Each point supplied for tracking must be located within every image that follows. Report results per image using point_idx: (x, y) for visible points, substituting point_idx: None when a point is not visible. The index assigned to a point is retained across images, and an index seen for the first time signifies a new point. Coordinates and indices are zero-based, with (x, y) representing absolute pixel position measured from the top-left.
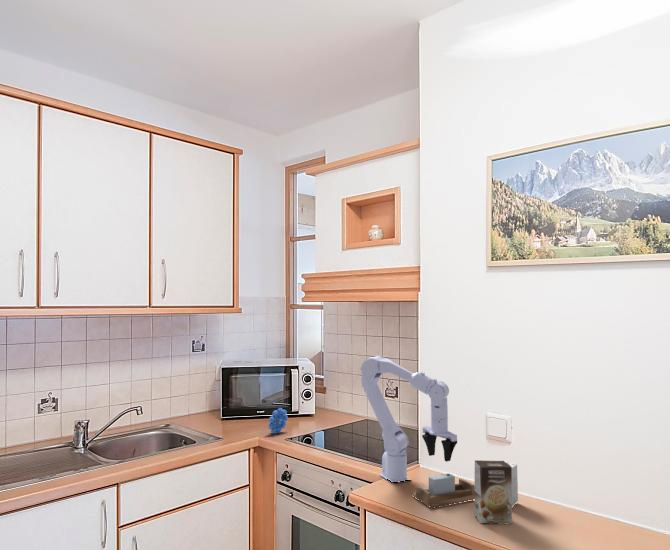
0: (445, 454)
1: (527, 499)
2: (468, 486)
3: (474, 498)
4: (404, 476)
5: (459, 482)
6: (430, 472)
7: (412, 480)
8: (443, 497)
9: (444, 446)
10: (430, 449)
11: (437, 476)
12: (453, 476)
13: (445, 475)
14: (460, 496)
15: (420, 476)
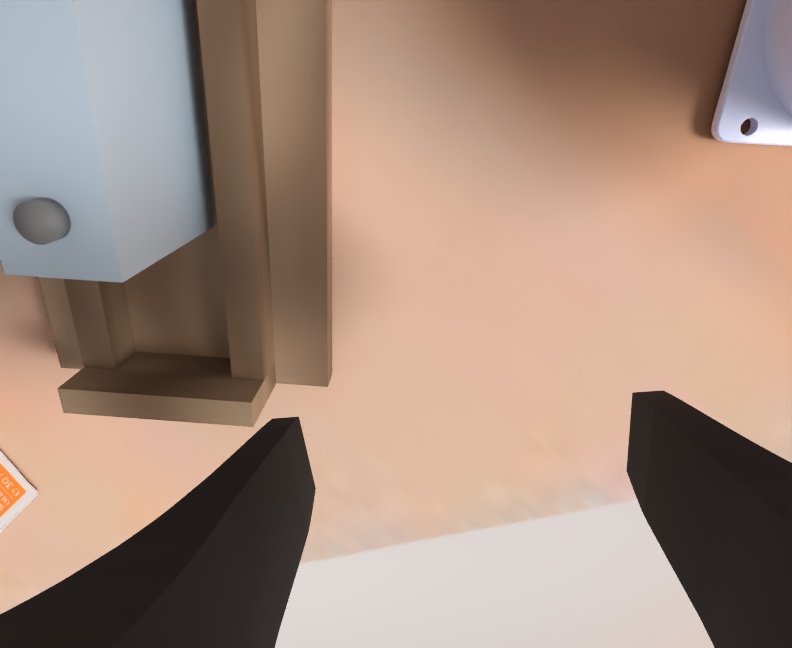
0: (214, 477)
1: (30, 585)
2: (121, 379)
3: (54, 325)
4: (785, 40)
5: (251, 385)
6: (746, 426)
7: (712, 151)
8: None
9: (99, 600)
10: (686, 472)
11: (41, 44)
12: (3, 257)
13: (62, 189)
14: None
15: (737, 293)
